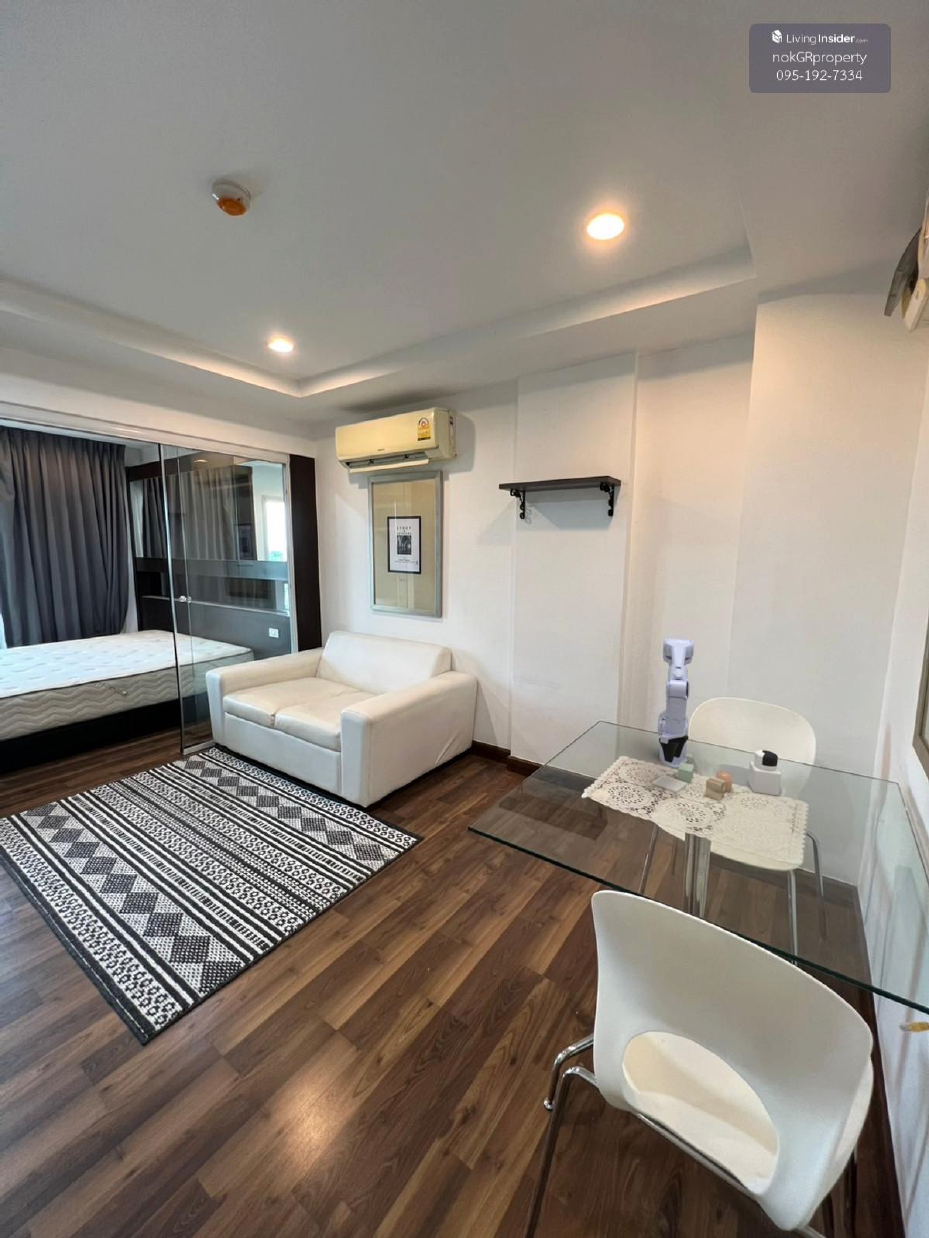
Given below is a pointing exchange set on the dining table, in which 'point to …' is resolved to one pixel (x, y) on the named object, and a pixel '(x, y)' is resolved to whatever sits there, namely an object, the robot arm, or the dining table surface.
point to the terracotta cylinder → (725, 779)
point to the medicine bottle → (764, 773)
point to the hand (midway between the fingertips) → (672, 759)
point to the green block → (685, 772)
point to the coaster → (669, 783)
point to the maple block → (715, 788)
